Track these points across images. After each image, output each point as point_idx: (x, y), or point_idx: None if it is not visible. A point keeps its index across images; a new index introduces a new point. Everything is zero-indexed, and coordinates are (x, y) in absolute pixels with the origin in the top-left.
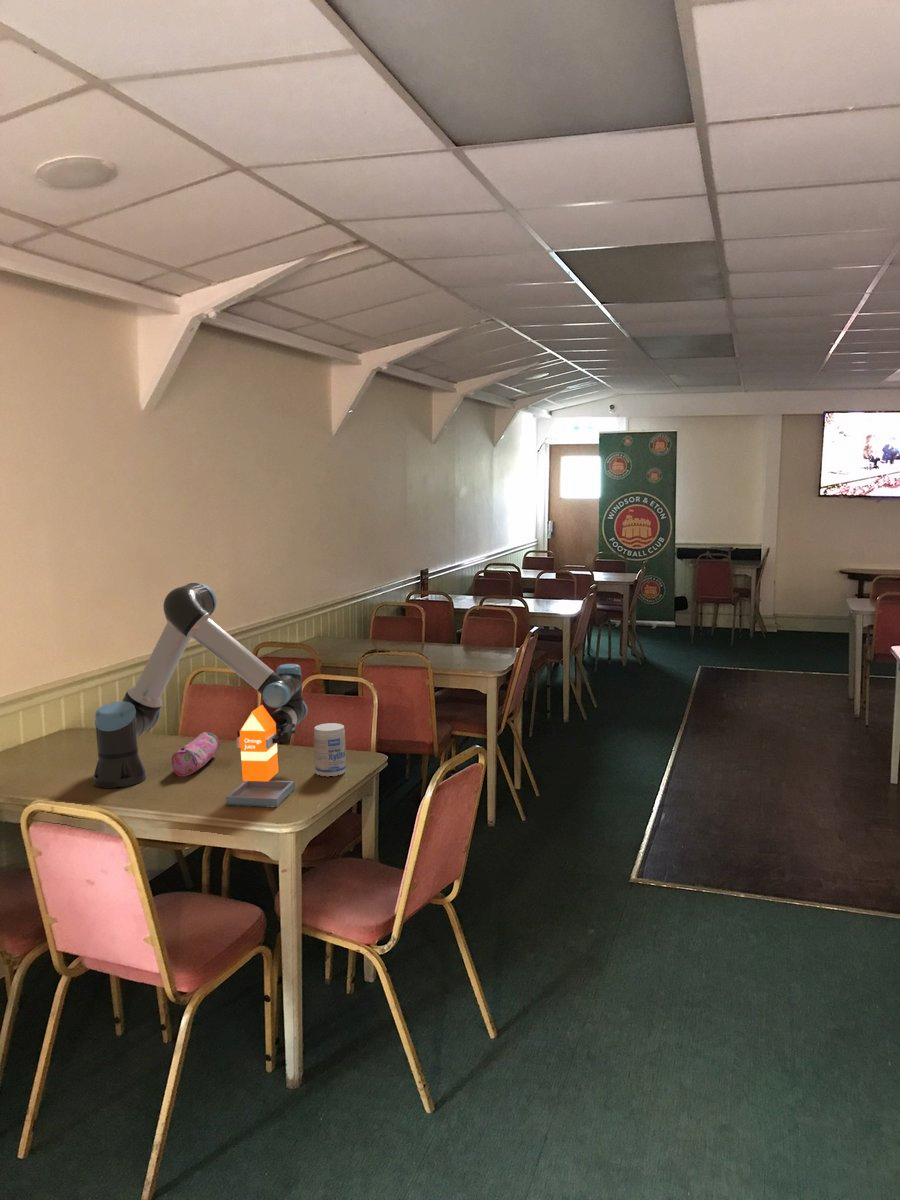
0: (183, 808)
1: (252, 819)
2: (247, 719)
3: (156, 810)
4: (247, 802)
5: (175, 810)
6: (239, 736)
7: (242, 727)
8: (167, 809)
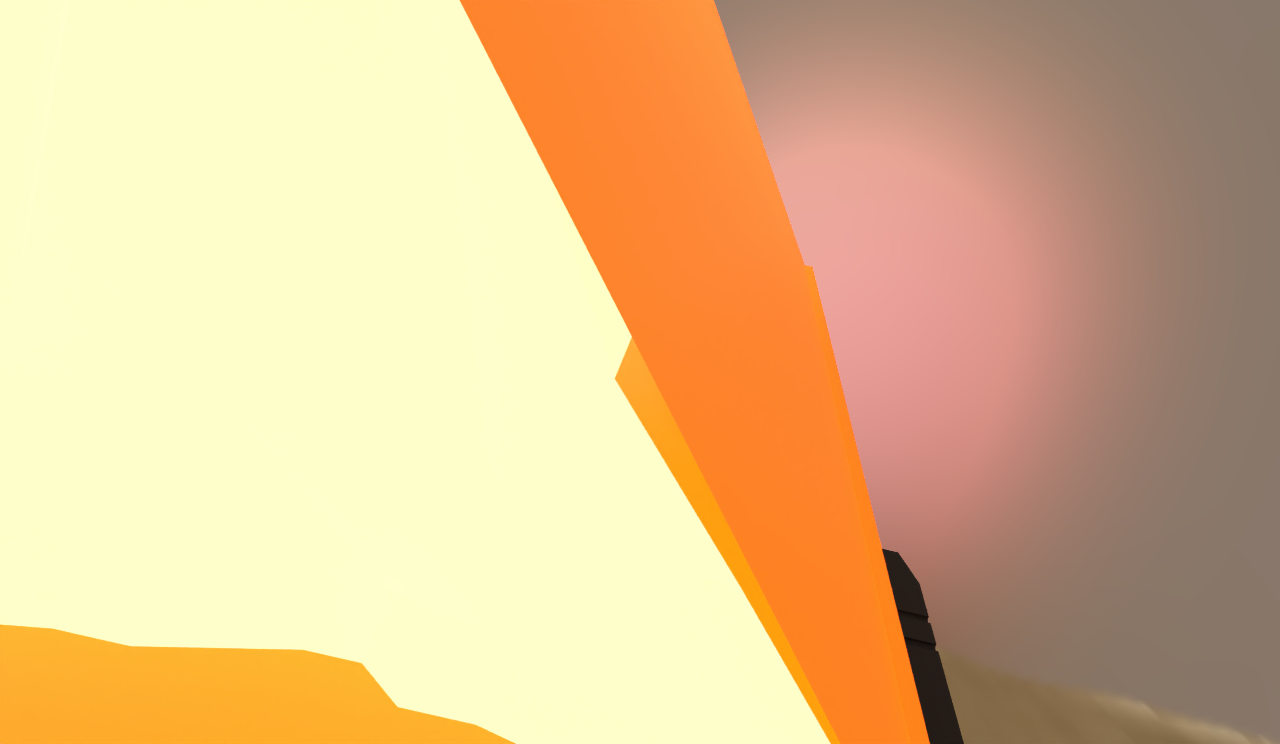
0: (994, 732)
1: None
2: (713, 3)
3: (1130, 716)
4: None
5: (1016, 701)
6: (909, 607)
7: (783, 206)
8: (1080, 726)
